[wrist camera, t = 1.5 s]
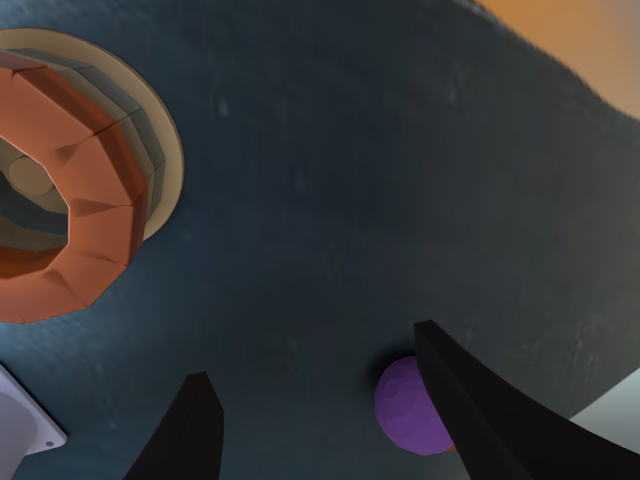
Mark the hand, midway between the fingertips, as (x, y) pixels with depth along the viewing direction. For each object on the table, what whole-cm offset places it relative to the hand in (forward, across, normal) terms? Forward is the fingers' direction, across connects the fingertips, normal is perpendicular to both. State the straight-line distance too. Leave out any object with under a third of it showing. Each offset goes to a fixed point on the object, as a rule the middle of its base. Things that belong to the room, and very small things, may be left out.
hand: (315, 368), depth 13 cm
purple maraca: (+10, -10, +18) cm, 23 cm away
